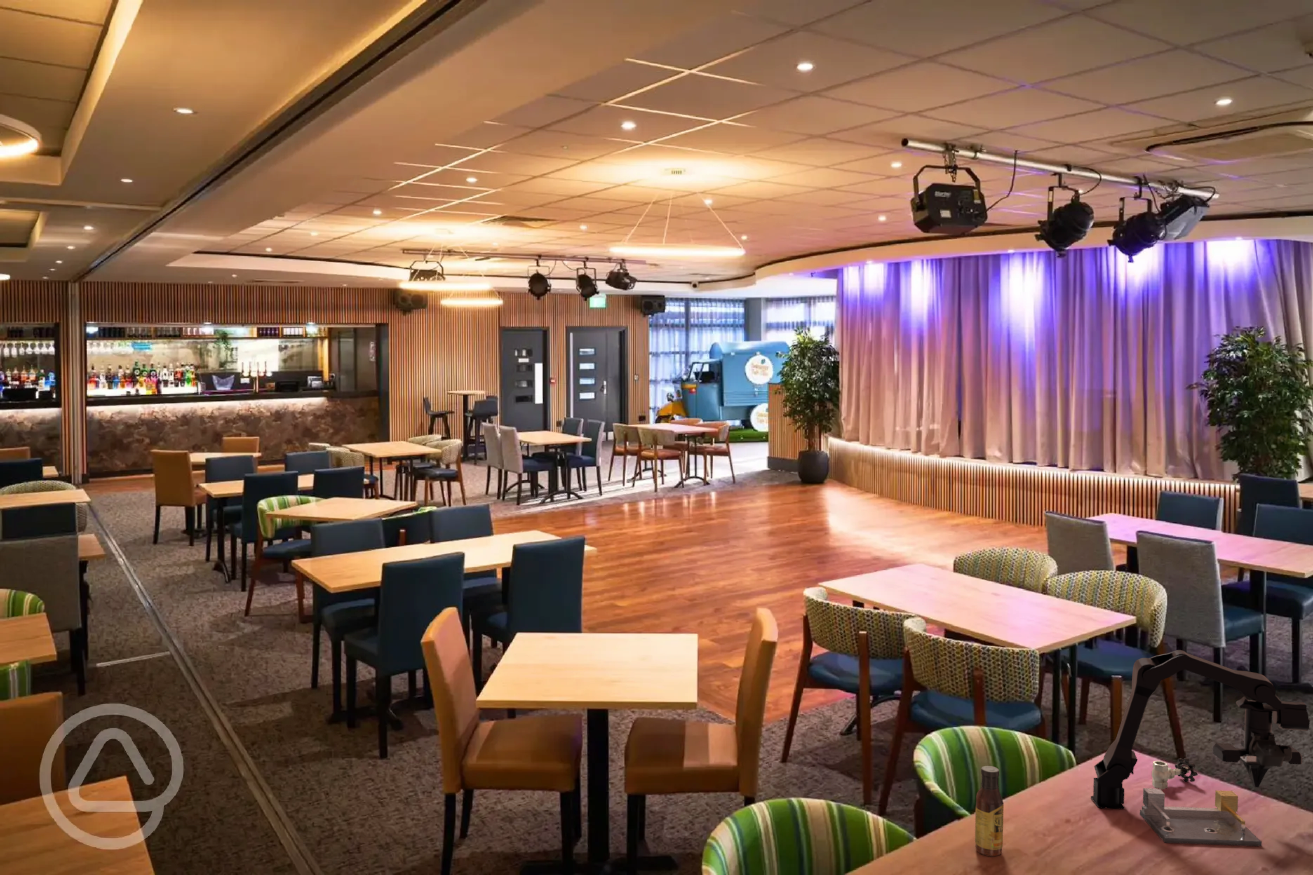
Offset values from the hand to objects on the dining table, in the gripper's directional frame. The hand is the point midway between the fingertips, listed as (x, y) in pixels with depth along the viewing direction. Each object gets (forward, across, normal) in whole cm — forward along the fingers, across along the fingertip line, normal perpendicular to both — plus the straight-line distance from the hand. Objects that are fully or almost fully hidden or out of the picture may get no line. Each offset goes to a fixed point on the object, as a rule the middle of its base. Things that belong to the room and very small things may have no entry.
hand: (1255, 786), depth 241 cm
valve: (+9, -11, +21) cm, 26 cm away
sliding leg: (+7, -7, -4) cm, 11 cm away
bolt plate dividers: (+9, -16, -6) cm, 19 cm away
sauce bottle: (+10, -70, -20) cm, 73 cm away
